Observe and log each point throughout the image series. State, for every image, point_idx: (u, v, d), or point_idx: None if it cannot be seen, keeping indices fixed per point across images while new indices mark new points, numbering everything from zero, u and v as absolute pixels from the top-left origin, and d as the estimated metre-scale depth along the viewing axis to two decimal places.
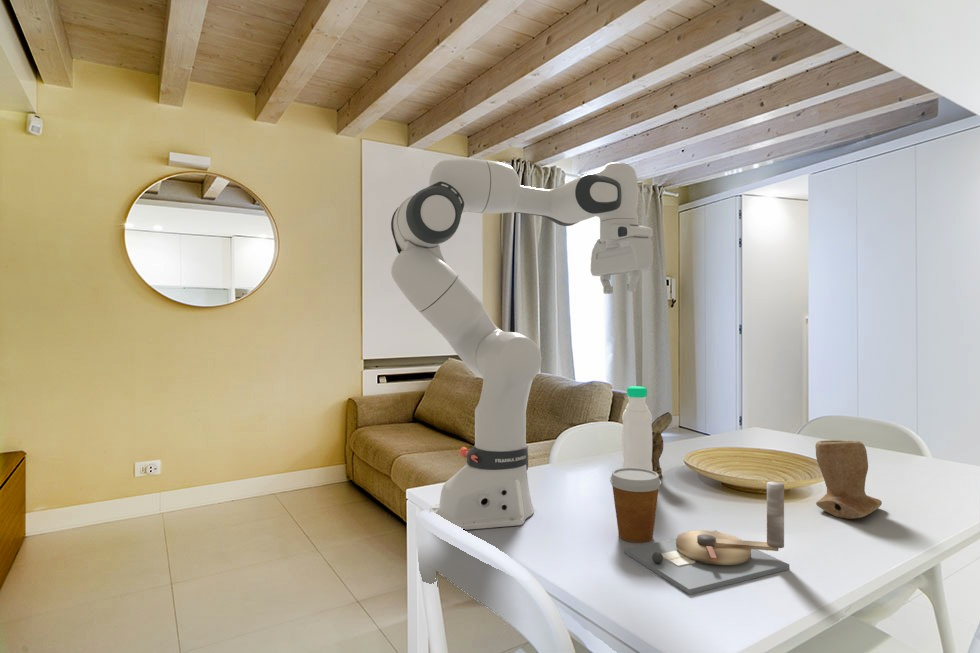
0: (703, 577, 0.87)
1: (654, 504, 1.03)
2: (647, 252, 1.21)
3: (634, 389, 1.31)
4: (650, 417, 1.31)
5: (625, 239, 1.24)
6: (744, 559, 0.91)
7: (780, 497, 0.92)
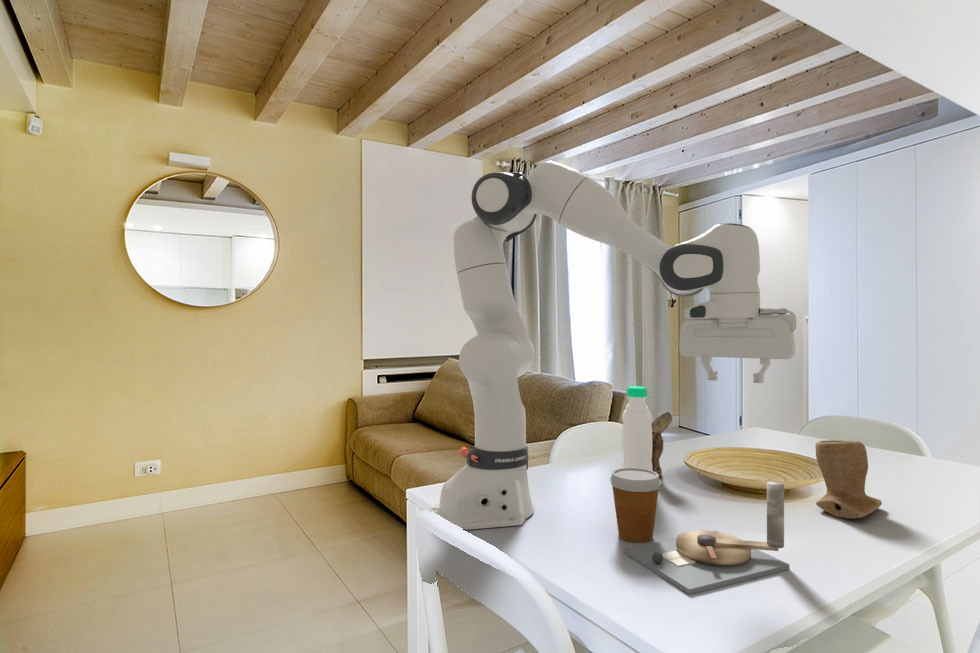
0: (703, 577, 0.87)
1: (654, 504, 1.03)
2: None
3: (634, 389, 1.31)
4: (650, 417, 1.31)
5: None
6: (744, 559, 0.91)
7: (780, 497, 0.92)
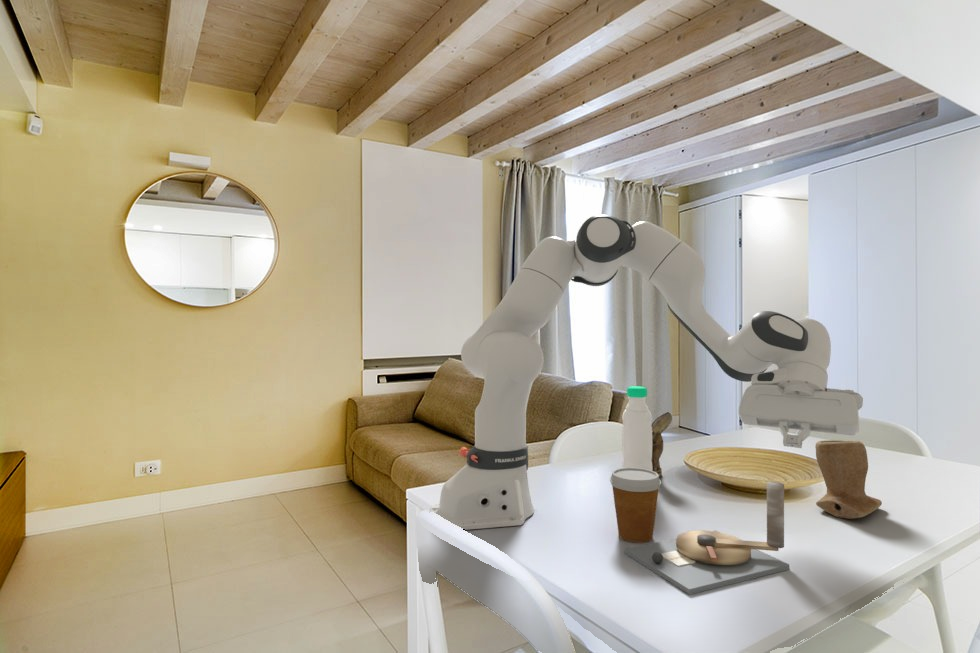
0: (703, 577, 0.87)
1: (654, 504, 1.03)
2: None
3: (634, 389, 1.31)
4: (650, 417, 1.31)
5: None
6: (744, 559, 0.91)
7: (780, 497, 0.92)
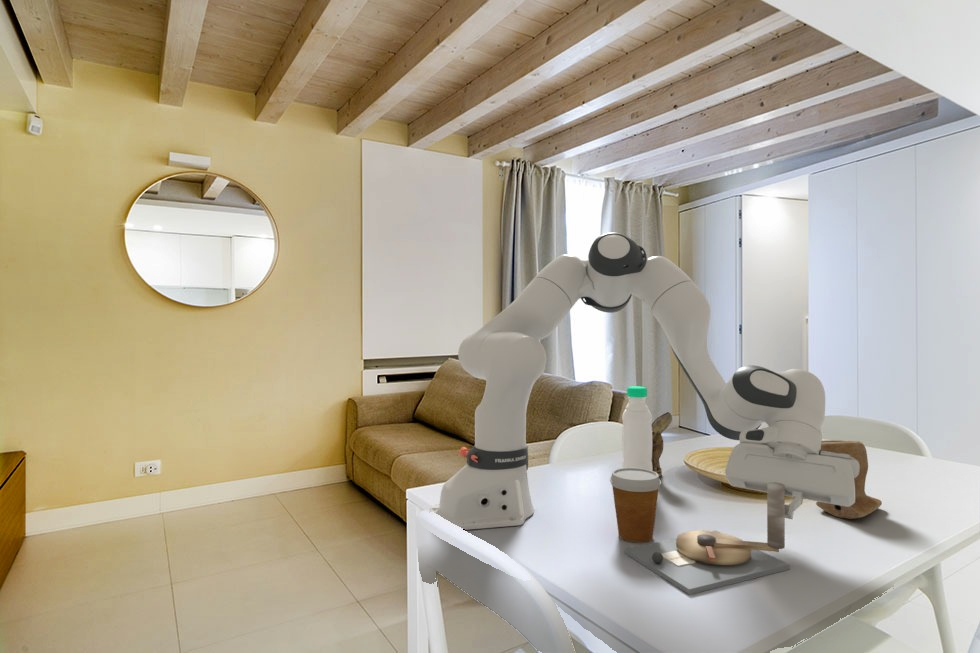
0: (703, 577, 0.87)
1: (654, 504, 1.03)
2: None
3: (634, 389, 1.31)
4: (650, 417, 1.31)
5: None
6: (743, 559, 0.90)
7: (781, 498, 0.92)
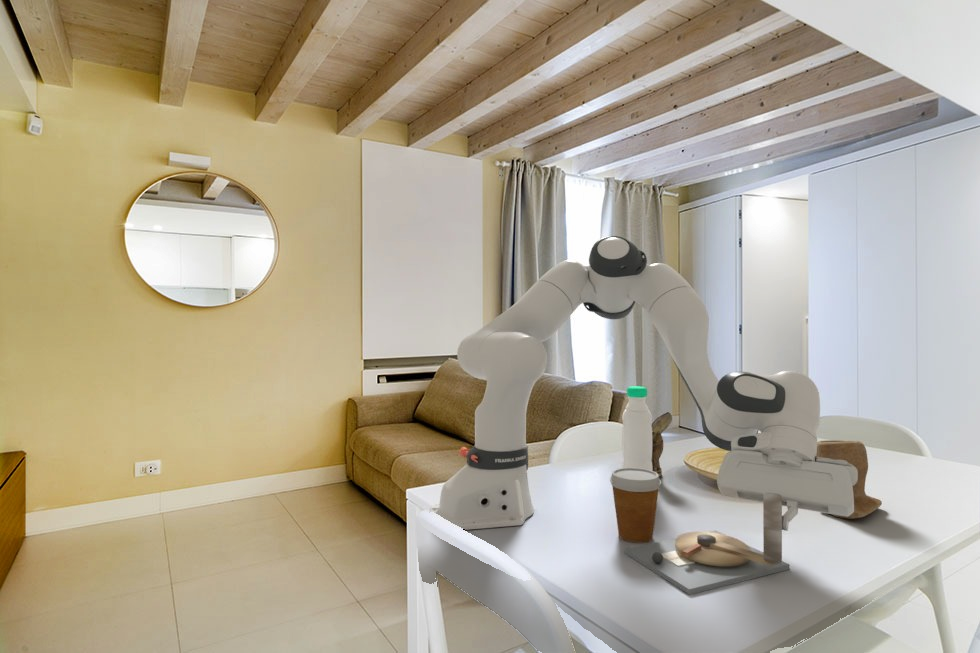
0: (703, 577, 0.87)
1: (654, 504, 1.03)
2: None
3: (634, 389, 1.31)
4: (650, 417, 1.31)
5: None
6: (723, 563, 0.89)
7: (772, 510, 0.86)
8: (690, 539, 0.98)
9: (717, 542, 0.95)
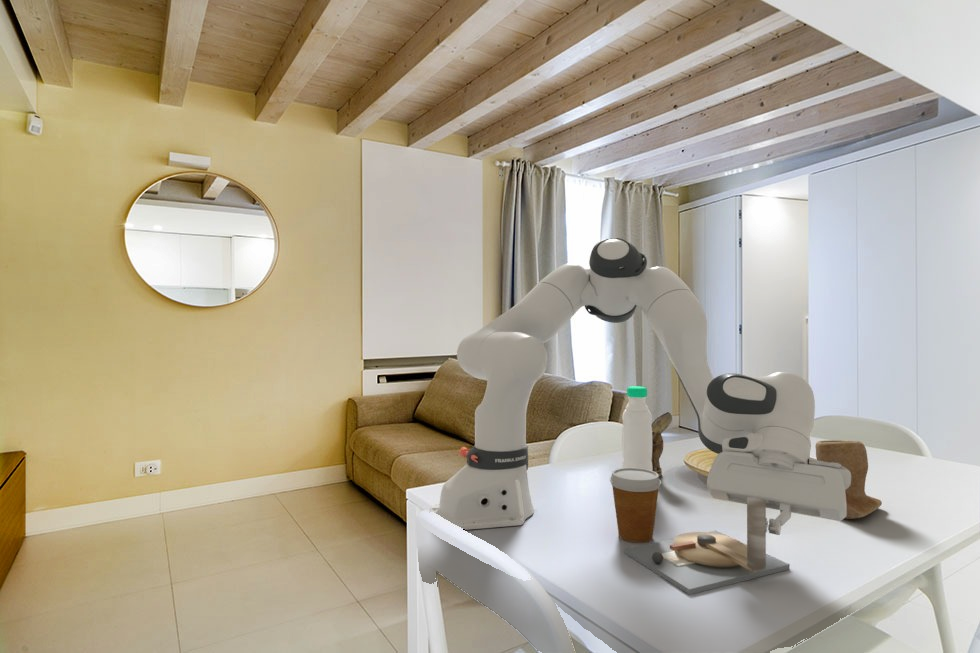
0: (703, 577, 0.87)
1: (654, 504, 1.03)
2: None
3: (634, 389, 1.31)
4: (650, 417, 1.31)
5: None
6: (707, 562, 0.90)
7: (752, 514, 0.84)
8: (693, 537, 0.98)
9: (715, 543, 0.94)
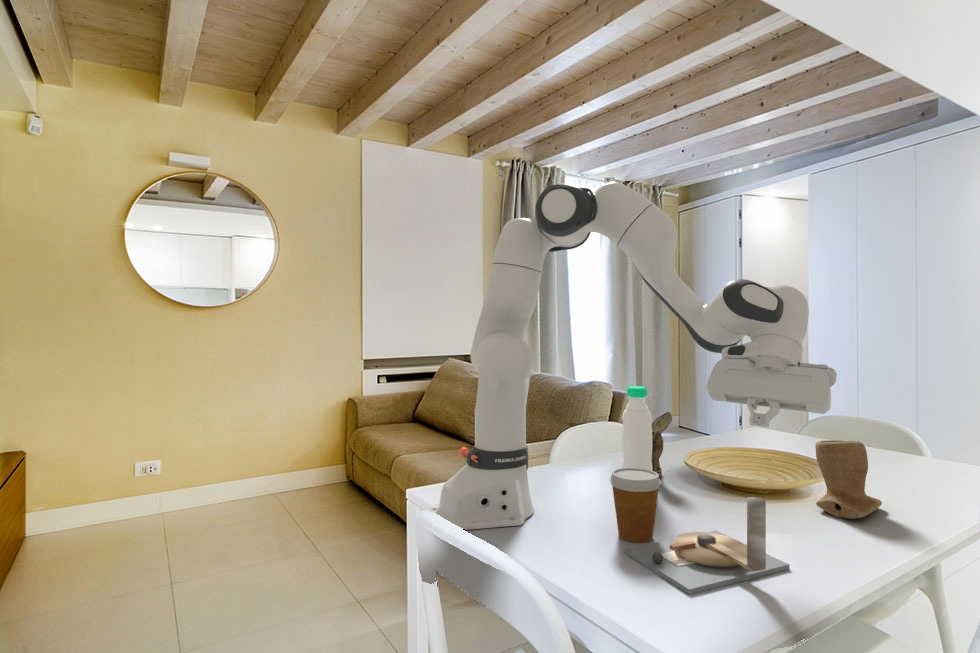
0: (703, 577, 0.87)
1: (654, 504, 1.03)
2: None
3: (634, 389, 1.31)
4: (650, 417, 1.31)
5: None
6: (707, 562, 0.90)
7: (752, 514, 0.84)
8: (693, 537, 0.98)
9: (715, 543, 0.94)
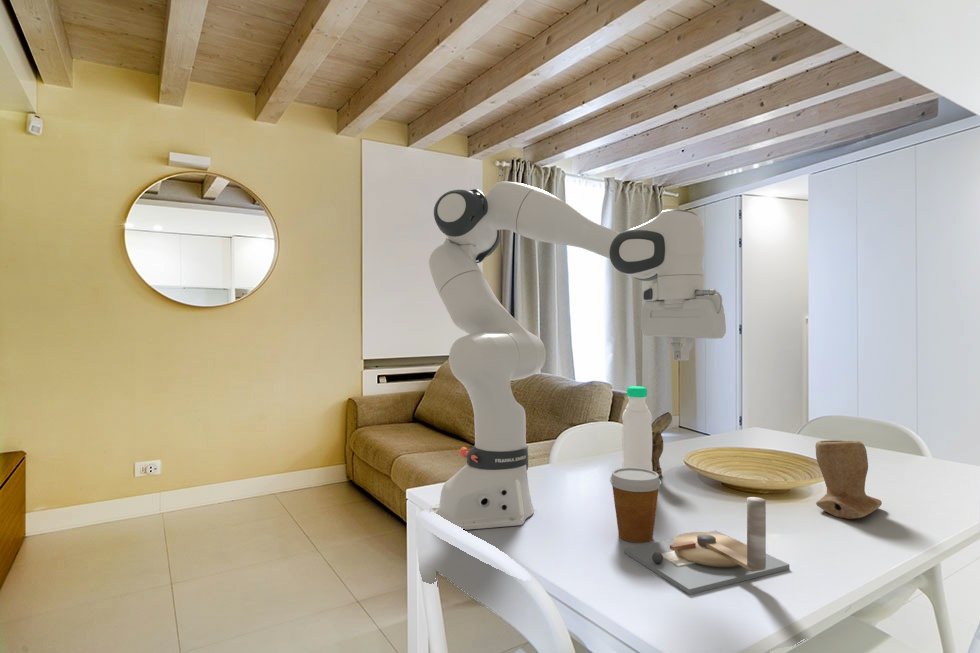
0: (703, 577, 0.87)
1: (654, 504, 1.03)
2: None
3: (634, 389, 1.31)
4: (650, 417, 1.31)
5: None
6: (707, 562, 0.90)
7: (752, 514, 0.84)
8: (693, 537, 0.98)
9: (715, 543, 0.94)
